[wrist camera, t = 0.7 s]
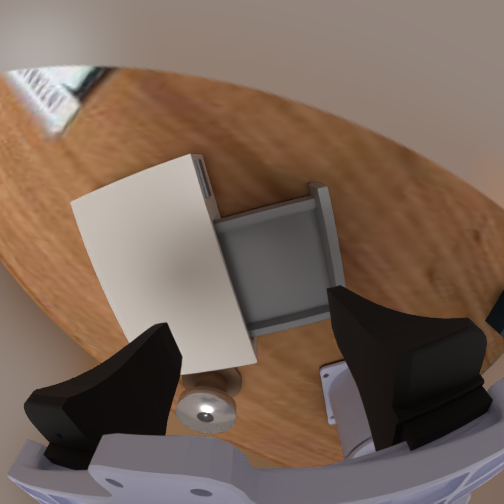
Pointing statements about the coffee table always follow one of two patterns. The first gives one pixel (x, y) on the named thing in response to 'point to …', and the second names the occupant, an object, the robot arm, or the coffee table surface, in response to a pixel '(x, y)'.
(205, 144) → the coffee table surface
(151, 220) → the player
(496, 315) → the watch
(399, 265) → the coffee table surface
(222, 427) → the disc
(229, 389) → the stand
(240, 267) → the tray
